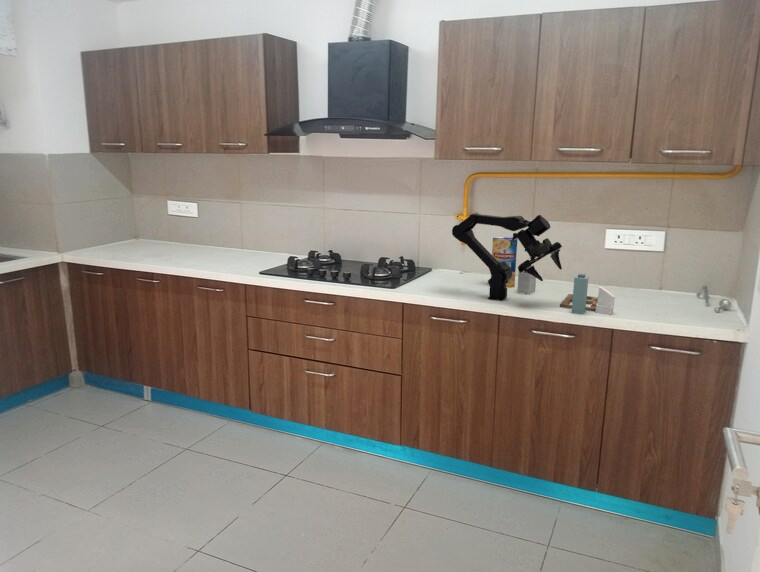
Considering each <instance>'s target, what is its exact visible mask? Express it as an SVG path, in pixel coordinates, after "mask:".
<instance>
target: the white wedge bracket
mask: <svg viewBox="0 0 760 572" xmlns="http://www.w3.org/2000/svg"><path fill="white" fill-rule="evenodd" d="M597 297H598V303H597V305H596V312H595V311H594V312H595V313H596V314H600V315H601V314H602V315H607V314H608V315H609V316H611V315H613V314H614V308H615V307H614V306H615V297H616V296H615V295H614V294H612V293H611V292H610V291H608V290H607V289H605V288H604V287H602V286H601V285H600V286H598V294H597Z"/></svg>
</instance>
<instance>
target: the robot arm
mask: <svg viewBox="0 0 760 572" xmlns="http://www.w3.org/2000/svg"><path fill="white" fill-rule="evenodd" d="M478 224H479V225H487V226H495V227H500V228H502V229H505V230H508V231H511V232H514V233H512V237H511V238H512V240H515V239H517V238H518V241H519V242H520V245H522V247H523V248H524V252H526V253H527V254H528V255H529V259H530V260H529V259H526V260H525V261H523V262H521V263H520V264H519V265H518V266H517V270H518V272H519V271H520V273H522V272H523V271H525V272H524V273H526V272H527V273H529V274H531V275H533V276H534V277H536V280H537V279H538V280H539V281H540V282H543V281H544V279H543V277H542V276H541V275H540V274H539V272H538V271H536V270H535V265H534V264H535V263H537V262H538V261H540V260H542V259H543V258H545V257H546V256H548V255H549V257H550V258H551V260H552V261H553V263H554V264H555V265H556V267H557V268H558V269H559V271H560V270H562V269H563V268H562V264H561V261H560V251H561V249H562V247H563V245H562V244H561V243H560V242H558V241H556V242H554V243H552V242H551V240H550V239H549V238H548V237H547V238H545V239H542V242H541V241H540V240H539V239H536V237H540V236H541V235H542V234H544V233H546V232H548V230H550V229H551V224H550V223H549V221H548V220H546V218H545V217H543V216H542V215H541V214H538V215H537V216H535V218H533V219H532V220H528V219H525V218H524V217H523V216H522V215H509V216H498V215H490V214H489V215H488V214H480V213H472V214H469V215H468V216H467V218H466V219H464V220H463V221H461V222H460V223H459V224H455V225H454V226H453V227H452V230H451V235H452V236H453V237H454V238H455V239H456V240H458V241H459V242H462V243H463V244H465V245H467V247H468V248H469V249H470V250H471V251H472V252H473V253H474V254H475V255H476V256H477V257H478V258H479V260H481V262H482V263H484V265H486V267H487V268H488V270H489V272H490V276H491V275H492V276H493V277H492V278H491V277H490V278H489V279H488V280H487V283H488V285H489V293H488V294H489V296H488V297H487V299H488V300H494V301H502V302H503V301H504V300H506V299H507V298H508V287H506V283H507V282H508V280H509V279H511V277H512V270H511V269H510V268H511V267H509V266H508V265H507V264H506V262H505V261H503V262H499V261H497V260H496V259H495V258H494V257H493V256H492V254H491V252H490V251H489V250H488V249H487V248H486V247H485V246H484V245H483V244H482V243H481V242H480V241H479V240H478V239H477V238H476V236H475V233H474V232H473V229H474V228H475V226H476V225H478ZM524 228H525V229H524ZM516 231H518V232H516ZM535 236H536V237H535ZM505 298H506V299H505Z"/></svg>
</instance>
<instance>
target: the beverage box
mask: <svg viewBox="0 0 760 572" xmlns="http://www.w3.org/2000/svg"><path fill="white" fill-rule="evenodd" d="M512 238H513V237H509V236H508V237H507V236H506V237H505V236H504V237H503V236H500V237H499V236H493V238H492V246H491V247H492V250H491V253H492V254H491V255H492V256H493V257H494V258H495V259H496V260H497V261H499V262H503V261H505V262H506V264H507V265H508V266H509V267H511V268H510V269H511V270H512V277H511V279H509V280H508V282H507V283H506V288H512V287H514V288H515V283H516V271H517V270H516V268H517V266H516V265H517V251H518V250H517V249H518V241H519V239H518V238H517V239H515V240H512ZM492 277H493V276H492V275H491V274H490V278H492Z"/></svg>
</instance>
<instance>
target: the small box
mask: <svg viewBox="0 0 760 572" xmlns="http://www.w3.org/2000/svg"><path fill="white" fill-rule="evenodd" d="M535 270H536V271H537V270H538V269H537V268H535ZM524 272H525V271H523V272H522V273H520V271H519V270H518V272H517V273H518V278H517V294H520V293H524V294H523V295H527V294H529V295H531V294H533V293H534V292H536V287H537V286H536V284H537V278H536V277H534V276H533V275H531V274H529V273H527V272H526V273H524ZM537 272H538V271H537ZM532 292H533V293H532ZM530 293H531V294H530Z"/></svg>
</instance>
